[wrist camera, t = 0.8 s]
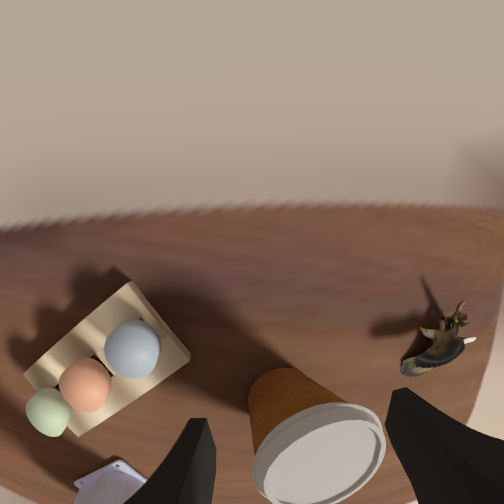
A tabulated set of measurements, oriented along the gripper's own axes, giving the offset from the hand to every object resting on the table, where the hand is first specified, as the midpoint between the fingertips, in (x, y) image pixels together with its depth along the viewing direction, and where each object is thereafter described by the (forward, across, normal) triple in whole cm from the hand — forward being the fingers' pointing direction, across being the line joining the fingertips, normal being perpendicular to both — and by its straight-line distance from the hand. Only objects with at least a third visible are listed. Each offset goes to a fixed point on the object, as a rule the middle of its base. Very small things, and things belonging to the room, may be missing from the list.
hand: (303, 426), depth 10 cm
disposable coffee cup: (+15, 0, +11) cm, 18 cm away
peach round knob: (+11, +16, +5) cm, 20 cm away
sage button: (+9, +20, +7) cm, 23 cm away
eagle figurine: (+18, -18, +10) cm, 28 cm away
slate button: (+12, +11, +2) cm, 17 cm away
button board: (+12, +16, +5) cm, 21 cm away
